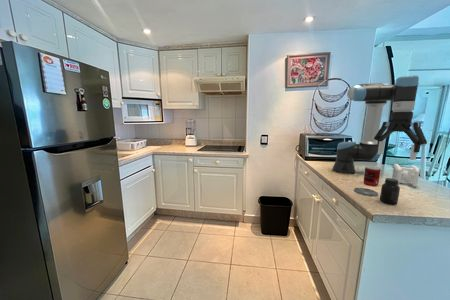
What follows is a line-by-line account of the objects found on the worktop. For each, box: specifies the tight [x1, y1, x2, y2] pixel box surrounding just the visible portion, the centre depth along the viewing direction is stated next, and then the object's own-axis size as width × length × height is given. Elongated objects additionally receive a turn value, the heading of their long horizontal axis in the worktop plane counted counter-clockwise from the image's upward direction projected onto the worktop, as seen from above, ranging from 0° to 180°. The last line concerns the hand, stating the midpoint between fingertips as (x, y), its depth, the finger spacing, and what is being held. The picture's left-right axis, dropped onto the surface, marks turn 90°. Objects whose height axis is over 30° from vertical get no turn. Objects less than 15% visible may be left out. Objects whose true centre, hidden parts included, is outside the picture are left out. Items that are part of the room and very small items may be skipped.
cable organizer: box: [391, 163, 421, 188], centre depth 120 cm, size 15×11×12 cm
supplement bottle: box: [379, 177, 401, 206], centre depth 93 cm, size 7×7×12 cm
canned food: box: [363, 165, 382, 187], centre depth 119 cm, size 8×8×11 cm
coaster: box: [353, 187, 379, 197], centre depth 107 cm, size 11×11×1 cm
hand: (395, 156), depth 90 cm, fingers open, 13 cm apart
